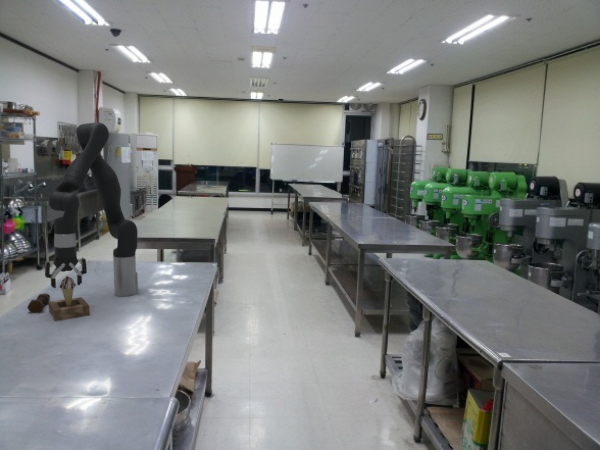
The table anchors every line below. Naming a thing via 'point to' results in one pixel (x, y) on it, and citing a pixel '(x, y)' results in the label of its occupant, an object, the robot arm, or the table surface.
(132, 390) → the table surface
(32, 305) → the bolt
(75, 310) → the wooden square frame
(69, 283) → the ice cream cone
